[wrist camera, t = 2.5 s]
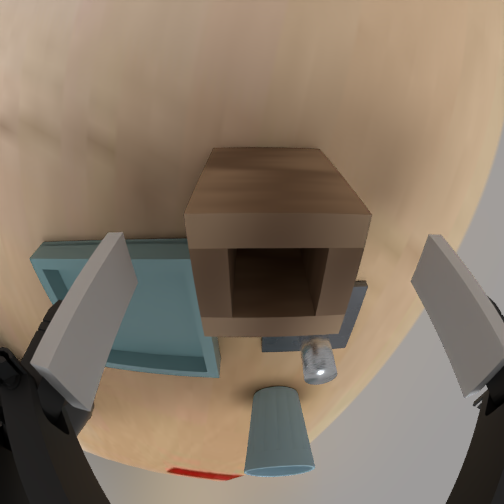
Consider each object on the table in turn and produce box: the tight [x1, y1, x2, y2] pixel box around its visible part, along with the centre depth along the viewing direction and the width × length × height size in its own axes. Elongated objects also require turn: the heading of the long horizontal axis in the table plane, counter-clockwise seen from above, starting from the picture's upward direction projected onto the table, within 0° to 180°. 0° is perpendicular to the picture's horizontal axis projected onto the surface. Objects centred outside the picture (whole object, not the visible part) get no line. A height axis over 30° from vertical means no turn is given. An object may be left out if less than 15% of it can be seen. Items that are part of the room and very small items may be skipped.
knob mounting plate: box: [262, 281, 368, 385], centre depth 21 cm, size 8×8×6 cm
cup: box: [244, 386, 315, 477], centre depth 28 cm, size 8×8×10 cm
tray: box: [30, 238, 221, 378], centre depth 22 cm, size 14×14×2 cm
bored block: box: [184, 147, 372, 337], centre depth 14 cm, size 6×6×8 cm
